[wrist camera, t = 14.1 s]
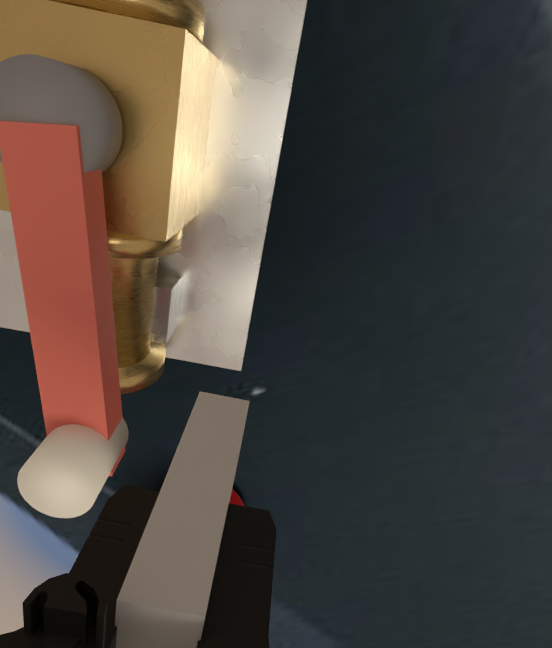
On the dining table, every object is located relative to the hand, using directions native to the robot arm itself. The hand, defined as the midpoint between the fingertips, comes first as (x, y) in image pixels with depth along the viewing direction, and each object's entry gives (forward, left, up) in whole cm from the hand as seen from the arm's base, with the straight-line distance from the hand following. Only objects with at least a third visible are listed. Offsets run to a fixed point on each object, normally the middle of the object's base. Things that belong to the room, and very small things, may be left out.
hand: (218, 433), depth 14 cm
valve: (-8, -7, -14) cm, 17 cm away
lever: (-2, -6, -5) cm, 8 cm away
